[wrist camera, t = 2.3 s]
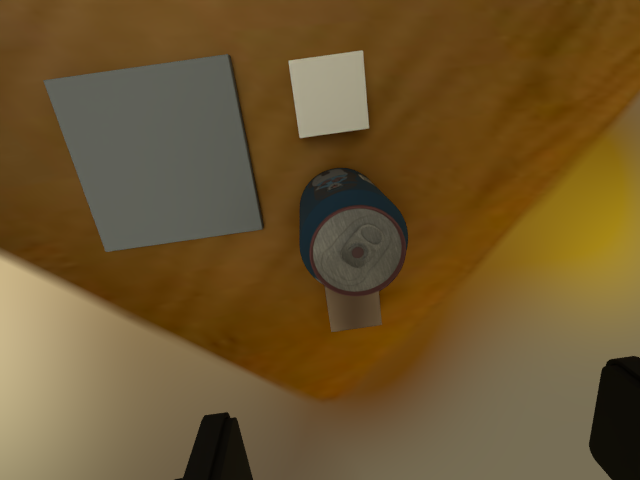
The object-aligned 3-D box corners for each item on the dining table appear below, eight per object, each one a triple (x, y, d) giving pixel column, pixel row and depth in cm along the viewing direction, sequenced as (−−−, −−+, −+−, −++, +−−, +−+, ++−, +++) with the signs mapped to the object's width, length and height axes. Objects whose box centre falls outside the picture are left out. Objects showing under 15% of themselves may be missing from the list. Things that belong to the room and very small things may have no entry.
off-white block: (352, 60, 28) (362, 50, 24) (358, 125, 30) (369, 128, 25) (290, 69, 28) (288, 60, 24) (299, 134, 30) (299, 138, 25)
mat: (230, 56, 28) (227, 54, 27) (263, 226, 33) (262, 229, 32) (52, 81, 28) (43, 80, 27) (111, 247, 33) (105, 251, 32)
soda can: (344, 254, 34) (366, 324, 23) (284, 212, 32) (275, 266, 21) (392, 196, 32) (440, 241, 21) (331, 149, 31) (349, 170, 19)
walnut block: (368, 258, 34) (377, 279, 30) (372, 299, 36) (381, 324, 32) (321, 265, 34) (324, 287, 30) (327, 306, 36) (331, 331, 32)
